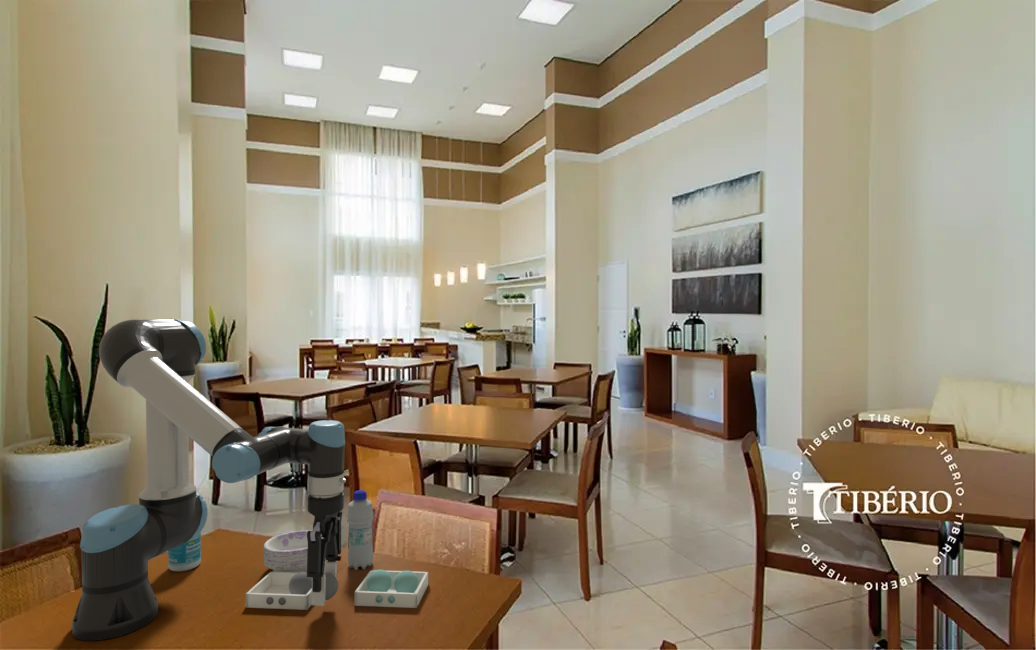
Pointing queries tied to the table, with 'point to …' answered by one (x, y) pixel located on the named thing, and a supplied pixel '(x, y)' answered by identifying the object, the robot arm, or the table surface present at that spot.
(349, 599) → the table surface
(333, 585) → the charcoal ball
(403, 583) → the teal ball
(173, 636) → the table surface
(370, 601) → the dish right
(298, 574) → the charcoal ball
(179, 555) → the pill bottle
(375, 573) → the teal ball
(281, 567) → the paper bowls
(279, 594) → the dish left
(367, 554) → the bottle
